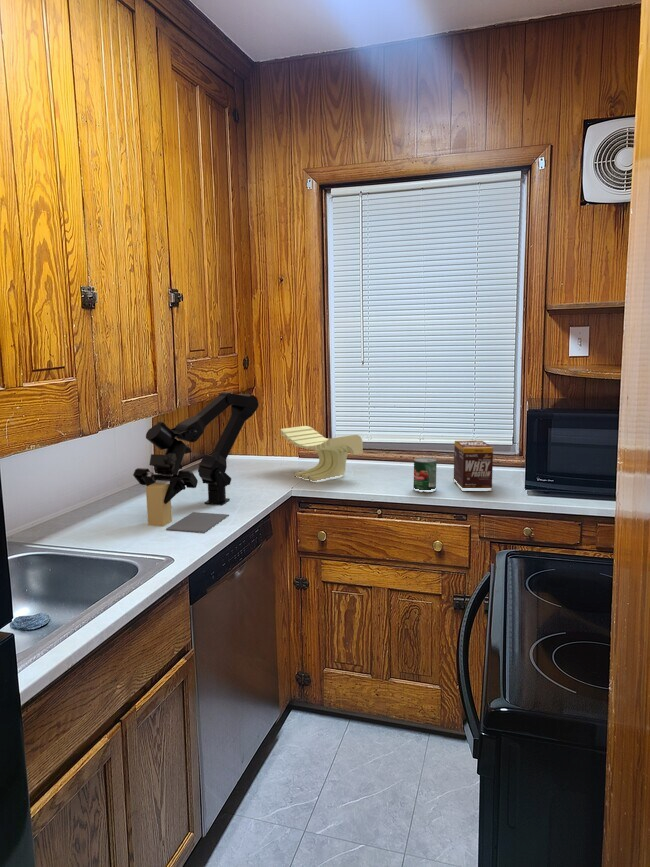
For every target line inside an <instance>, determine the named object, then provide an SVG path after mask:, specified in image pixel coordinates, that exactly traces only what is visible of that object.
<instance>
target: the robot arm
mask: <svg viewBox="0 0 650 867" xmlns="http://www.w3.org/2000/svg"><path fill="white" fill-rule="evenodd" d="M259 405H260V403H259V400H258V398H257V397H256V395H254V394H248V393H247V394H246V393H239V394H236V393H233V392H226V391H222V392H220V393H219V394H218V396H216V397H215V398H214V400H212V401H211V402H209V404H207V405H206V406H205V407H204V408H202V409H201V410H200V411H198V413H196V414H195V415H193V416H191V417H188V418H186V419H183V420H182V421H181V422H179V423H177V424H176V426H175V427H172V428H170V427H168V426H167V425H166V423H165V422H163V421H158V422H157V424H154V425H153V426H152V427H151V428H148V429H147V431H146V434H145V439H147V441H148V442H149V443H151V444H152V445H154V446H155V447H156V448H157V449H158V450H161V451H162V450H163V451H164V453H163V454H157V453H156V454H150V458H149V466H152V467H153V469H154V471H155V473H154V472H151V471H150V470H149V468H141V467H138V468H135V470H134V471H133V473H132V475H133V477H134V478H135V480H136V481H137V483H139V485H141V486H146V487H147V486H149V485H151V484H153V483H157V481H160V482H161V481H163V482H166V481H167V482H169V484H170V485H169V488H168V490H167V493H166V496H165V499H164V503H165V504H167V503H168V502H169V501H170V500H171V501H172V499H173V498H174V497H175V496H176V495H177V494H179V493H180V492H181V491H183V490H186V489H187V488H188V489H196V488H197V486H198V479H197V477H196V476H195V474H194V473H193V471H192V470H182V469H183V465H182V463H183V460H184V456H185V455H186V454H192V449H191V447H190V445H189V444H186V443H185V442H189V443H196V442H197V441H198V440H199V439H200V438H201V436H202V435H203V434H204V432H205V429H206V427H207V426H208V425H210V423H212V421H214V420H215V419H216V418H218V416H220V414H222V413H223V412H224V411H225V410H226V409H228V407H230V411H231V413H230V414H231V416H230V418H229V420H228V421H227V423H226V426H225V427H224V429H223V431H222V434H221V435H220V437H219V439H218V441H217V443H216V445H215V447H214V449H213V451H211V453H210V454H204V455H203V456H202V457H201V458H202V459H201V460H200V462H199V463H198V469H197V471H198V472H197V473H198V476H199V478H201V481H202V483H203V484H206V485H207V496H208V497H207V498H208V499H207V500H205V501H204V502H203V503H204V504H205V505H219V506H222V505H225V504H226V503H227V502H230V498H229V497H227V494H226V493H227V491H226V487H227V486H229V485H231V483H232V477H231V476H230V475H228V473H227V472H226V471H227V458H228V456H229V454H230V453H231V450H232V448H233V446H234V444H235V442H236V440H237V438H238V436H239V434H240V432H241V430H242V428H243V426H244V424H245V422H246V421H247V420H249V419H250V418H251V417H253V416H254V414H255V413H256V411H257V410H258V408H259Z"/></svg>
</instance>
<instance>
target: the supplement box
mask: <svg viewBox="0 0 650 867" xmlns="http://www.w3.org/2000/svg"><path fill="white" fill-rule="evenodd" d="M453 450H454V454H453V455H454V456H453V480H454V479H455V480H456V481H457V483H458V484H459V485H460V486H461V487H462V488H492V489H493V487H492V486H493V465H494V464H493V463H494V462H493V461H494V460H493V459H494V447H492V446H491V445H489V443H486V442H485V441H484V440H455V441H454V449H453Z"/></svg>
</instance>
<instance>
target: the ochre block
mask: <svg viewBox="0 0 650 867" xmlns="http://www.w3.org/2000/svg"><path fill="white" fill-rule="evenodd" d="M169 485H170V483H167V482H166V483H165V482H156V483H153V484H151V485H149V486H147V485H146V486H145V491H146V492H145V494H146V495H145V496H146V509H147V510H146V511H147V512H146V515H147V526H152V527H153V526H155V527H156V526H157V527H165V526H167V525H169V524H170V523H171V522H173V518H172V499H171V500H170V501H169V502H168V503H167V504H165V503H164V499H165V496H166V493H167V490H168V488H169Z"/></svg>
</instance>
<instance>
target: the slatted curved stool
mask: <svg viewBox="0 0 650 867" xmlns="http://www.w3.org/2000/svg"><path fill="white" fill-rule="evenodd" d="M280 437H283V438H284V440H286V441H288V443H290V444H293V446H294V447H296V448H302V449H306V450H309V451H314V452H315V451H316V453H317V456H318V458H319V459H318V460H319V461H318V463H317V465H315V466H314V467H312V468H310V469H306V470H302V471H298V472H295V474H294V476H297V477H302V478H304V479H309V480H312V481H317V480H321V479H326V478H330V477H335V476H340V475H344V476H345V473H346V465H347V458H348V455H349V453H350V454H352V455H353V456H356V455H362V454H363V453H364V451H363V444H364V442H363V439H362V437H361V436H360V435H358V434H351V435H344V436H339V437H333V438H332V437H331V438H326V437H324V435H322V434H320V433H319V431H317V430H315V428H313V427H311V426H309V425H302V426H293V427H286V428H280ZM302 478H301V479H302Z"/></svg>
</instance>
